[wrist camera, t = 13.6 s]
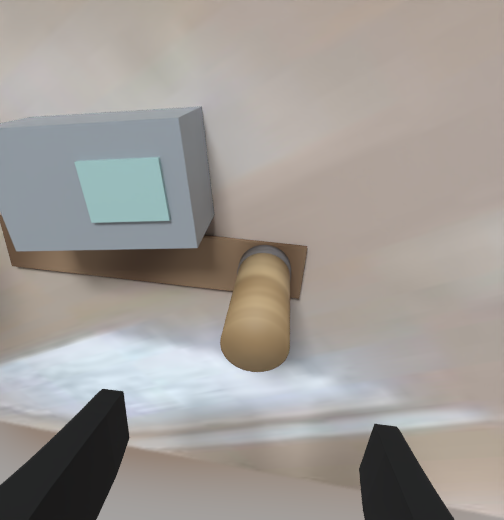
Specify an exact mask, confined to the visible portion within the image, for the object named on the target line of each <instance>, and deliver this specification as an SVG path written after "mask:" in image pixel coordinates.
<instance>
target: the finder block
mask: <svg viewBox="0 0 504 520" xmlns="http://www.w3.org/2000/svg"><path fill="white" fill-rule="evenodd" d="M0 212H1V215H2V217H3V220H4V222H5V225H6V227H7V229H8V232H9V234H10V237H11V239H12V242H13V244H14V247H15V249H16V251H67V250H121V249H175V248H198V246H199V244H200V242H201V240H202V238H203V236H204V234H205V232H206V230H207V228H208V226H209V224H210V223H211V221H212V219H213V217H214V207H213V199H212V190H211V182H210V173H209V165H208V156H207V148H206V140H205V131H204V123H203V114H202V107H186V108H170V109H153V110H137V111H121V112H105V113H89V114H72V115H56V116H40V117H29V118H24V119H19V120H14V121H9V122H4V123H0Z"/></svg>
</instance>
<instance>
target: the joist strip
mask: <svg viewBox="0 0 504 520" xmlns="http://www.w3.org/2000/svg"><path fill="white" fill-rule="evenodd" d="M0 223H1V227H2V230H3V234H4V238H5V242H6V245H7V249H8V253H9V256H10V260H11V264H12V266H16V267H25V268H34V269H42V270H51V271H60V272H69V273H78V274H86V275H95V276H104V277H113V278H121V279H130V280H139V281H148V282H157V283H165V284H174V285H183V286H192V287H201V288H209V289H218V290H227V291H233V289H234V285H235V282H236V278H237V270H238V266H239V262H240V259H241V257H242V256H243V254H244V253H245V252H246V251H247V250H249V249H250V248H252V247H254V246H258V245H270V246H274V247H276V248H278V249H280V250H281V251H283V252H284V253H285V254H286V256H287V257H288V259H289V261H290V264H291V281H290V298H297V299H299V296H300V290H301V284H302V278H303V271H304V265H305V259H306V253H307V246H301V245H292V244H282V243H273V242H264V241H254V240H245V239H235V238H226V237H217V236H207V235H204V236H203V238H202V240H201V242H200V244H199V246H198V248H175V249H121V250H67V251H16V249H15V247H14V244H13V242H12V239H11V237H10V234H9V232H8V229H7V227H6V225H5V222H4V220H3V217H2V215H0Z"/></svg>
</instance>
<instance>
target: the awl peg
mask: <svg viewBox="0 0 504 520" xmlns="http://www.w3.org/2000/svg"><path fill="white" fill-rule="evenodd" d="M290 281H291V264H290V261H289V259H288V257H287V256H286V254H285V253H284V252H283V251H281V250H280V249H278V248H276V247H274V246H270V245H258V246H254V247H252V248H250V249H249V250H247V251H246V252H245V253H244V254H243V256H242V257H241V259H240V262H239V266H238V270H237V278H236V282H235V285H234V289H233V293H232V297H231V301H230V305H229V309H228V313H227V316H226V320H225V324H224V328H223V332H222V336H221V341H220V345H221V350H222V352H223V354H224V356H225V357H226V359H227V360H228V361H229V362H231V363H232V364H233V365H235V366H236V367H238V368H240V369H243V370H246V371H251V372H264V371H269V370H272V369H274V368H276V367H278V366H279V365H281V364H282V363H283V362H284V361H285V359H286V358H287V356H288V353H289V348H290Z"/></svg>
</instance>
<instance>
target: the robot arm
mask: <svg viewBox="0 0 504 520" xmlns="http://www.w3.org/2000/svg"><path fill="white" fill-rule="evenodd" d="M128 440H129V431H128V423H127V416H126V408H125V401H124V393H123V391H116V390H108V389H102V390H101V391H99V392H98V393H97V394H96V395H95V396H94V397H93V398H92V399H91V400H90V401H89V402H88V403H87V404H86V406H85V407H84V408H83V409H82V410H81V411H80V412H79V413H78V414H77V415H76V416H75V417H74V418H73V419H72V420H71V421H70V422H69V423H67V424H66V425H65V426H64V427H63V428H62V429H61V430H60V431H59V432H58V433H57V434H56V435H55V436H54V437H53V438H52V439H51V440H50V441H49V442H48V443H47V444H46V445H45V446H44V447H42V448H41V449H40V450H39V451H38V452H37V453H36V454H35V455H34V456H33V457H32V458H31V459H30V460H28V461H27V462H26V463H25V464H24V465H23V466H22V467H20V468H19V469H18V470H17V471H16V472H15V473H14V474H13V475H11V476H10V477H9V478H8V479H7V480H6V481H5V482H3V483H2V484H1V485H0V520H96V519H97V517H98V515H99V513H100V510H101V508H102V506H103V504H104V501H105V499H106V497H107V495H108V493H109V491H110V489H111V486H112V484H113V482H114V480H115V478H116V475H117V472H118V469H119V467H120V464H121V461H122V458H123V456H124V452H125V449H126V446H127V443H128ZM359 472H360V484H361V494H362V505H363V512H364V518H365V520H454V518H453V517H452V515H451V514H450V512H449V510H448V509H447V507H446V506H445V504H444V503H443V501H442V500H441V498H440V497H439V495H438V494H437V492H436V490H435V489H434V487H433V486H432V484H431V482H430V481H429V479H428V477H427V476H426V474H425V473H424V471H423V469H422V468H421V466H420V464H419V463H418V461H417V459H416V458H415V456H414V454H413V452H412V451H411V449H410V447H409V446H408V444H407V442H406V440H405V439H404V437H403V435H402V433H401V432H400V430H399V429H398V428H397V427H395V426H388V425H380V424H374V427H373V430H372V433H371V436H370V439H369V442H368V445H367V448H366V450H365V453H364V456H363V459H362V462H361V465H360V468H359Z"/></svg>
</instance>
